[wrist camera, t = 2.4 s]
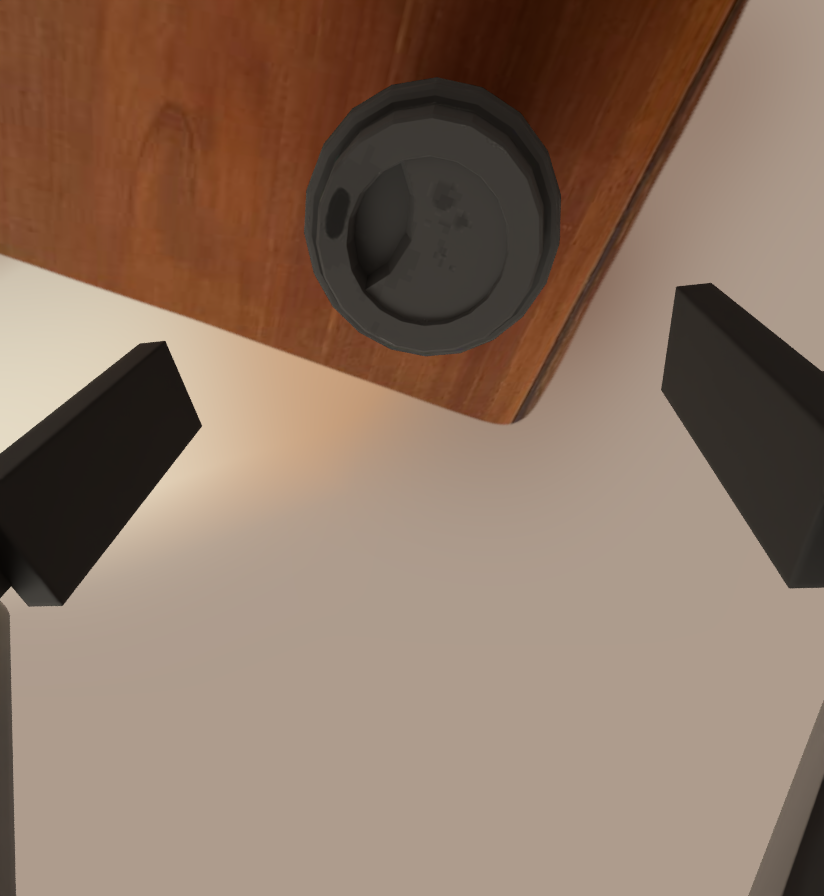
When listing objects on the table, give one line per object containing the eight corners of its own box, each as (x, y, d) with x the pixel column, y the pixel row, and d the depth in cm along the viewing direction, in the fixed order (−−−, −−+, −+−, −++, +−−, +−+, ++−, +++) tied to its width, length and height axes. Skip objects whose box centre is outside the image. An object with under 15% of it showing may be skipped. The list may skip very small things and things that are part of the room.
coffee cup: (384, 45, 29) (325, 18, 17) (565, 124, 31) (631, 151, 19) (335, 242, 36) (267, 325, 24) (487, 300, 37) (497, 406, 25)
